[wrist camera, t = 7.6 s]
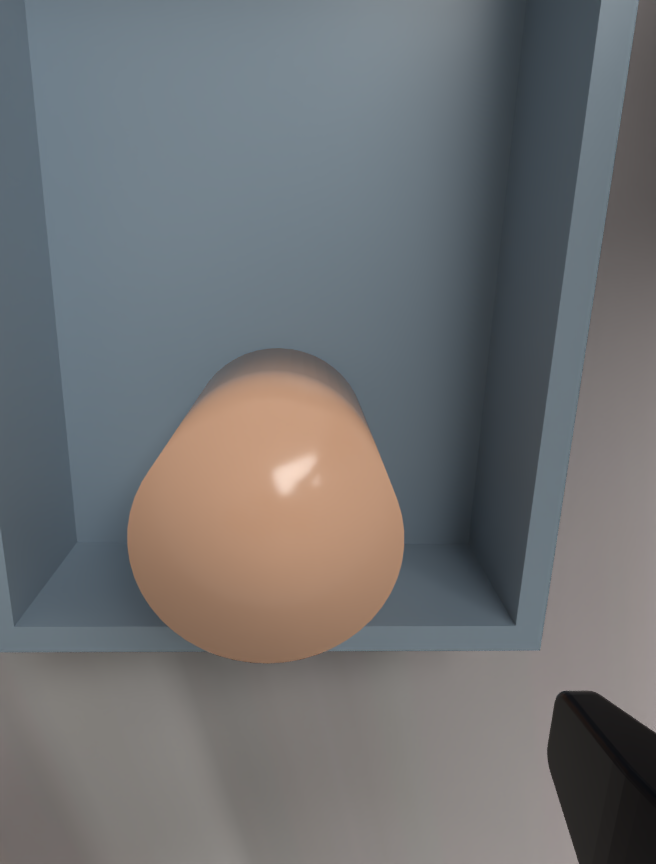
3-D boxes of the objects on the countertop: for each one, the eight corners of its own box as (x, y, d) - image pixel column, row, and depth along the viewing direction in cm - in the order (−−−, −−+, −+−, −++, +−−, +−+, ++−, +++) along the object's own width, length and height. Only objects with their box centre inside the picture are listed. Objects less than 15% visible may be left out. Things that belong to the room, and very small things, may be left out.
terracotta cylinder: (360, 513, 19) (395, 662, 12) (194, 511, 18) (135, 663, 12) (368, 350, 17) (413, 415, 10) (189, 345, 17) (117, 411, 10)
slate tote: (567, -186, 14) (700, -401, 10) (482, 553, 20) (539, 650, 15) (-18, -228, 14) (-187, -481, 9) (64, 551, 19) (-14, 652, 15)
